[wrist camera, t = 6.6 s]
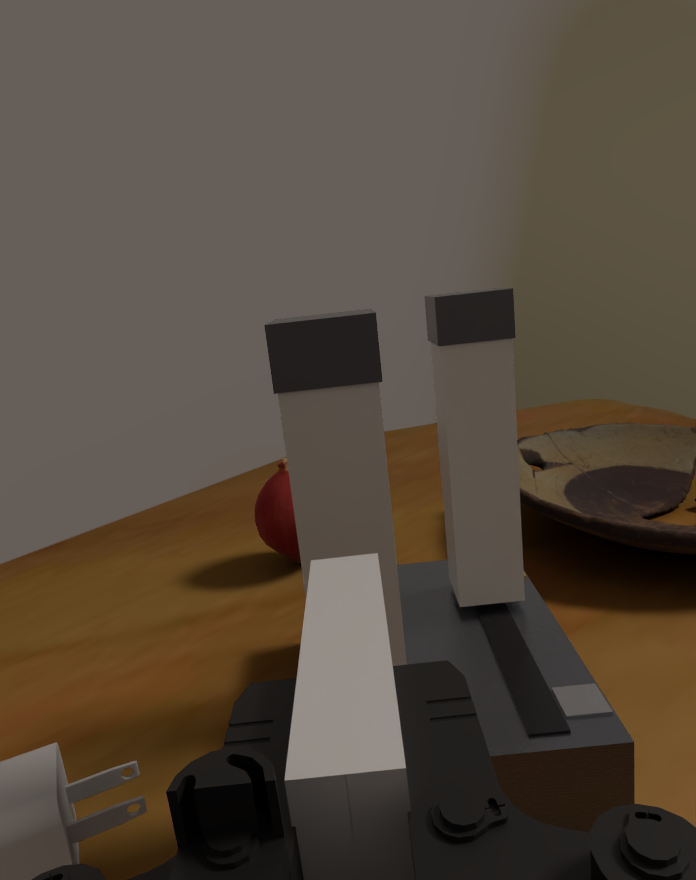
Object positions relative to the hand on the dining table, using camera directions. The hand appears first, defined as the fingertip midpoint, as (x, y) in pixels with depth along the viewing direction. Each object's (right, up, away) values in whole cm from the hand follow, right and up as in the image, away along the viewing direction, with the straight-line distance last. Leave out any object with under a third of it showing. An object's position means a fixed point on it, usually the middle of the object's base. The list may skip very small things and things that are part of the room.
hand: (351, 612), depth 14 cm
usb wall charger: (-11, -12, +9) cm, 18 cm away
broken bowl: (+24, -3, +30) cm, 38 cm away
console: (+4, -9, +15) cm, 17 cm away
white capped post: (+7, -3, +16) cm, 18 cm away
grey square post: (+1, -6, +9) cm, 10 cm away
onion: (-3, -5, +33) cm, 33 cm away
